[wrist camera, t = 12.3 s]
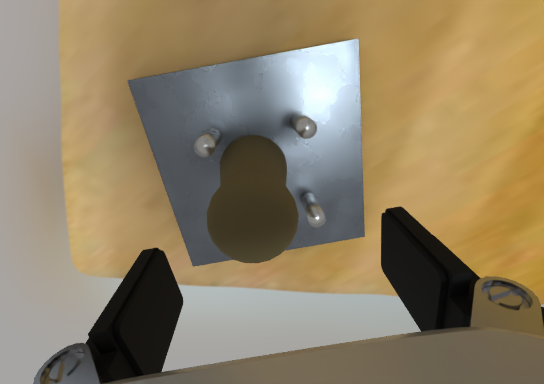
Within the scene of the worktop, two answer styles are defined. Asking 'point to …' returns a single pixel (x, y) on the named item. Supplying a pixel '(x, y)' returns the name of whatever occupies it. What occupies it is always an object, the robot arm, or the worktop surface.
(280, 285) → the worktop surface
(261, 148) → the olive tapered piece
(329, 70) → the pin plate
